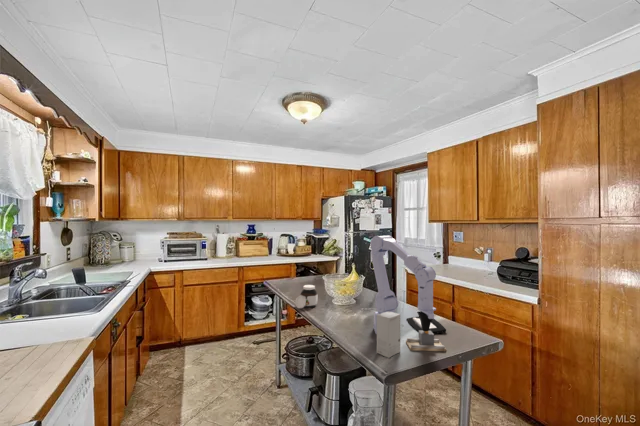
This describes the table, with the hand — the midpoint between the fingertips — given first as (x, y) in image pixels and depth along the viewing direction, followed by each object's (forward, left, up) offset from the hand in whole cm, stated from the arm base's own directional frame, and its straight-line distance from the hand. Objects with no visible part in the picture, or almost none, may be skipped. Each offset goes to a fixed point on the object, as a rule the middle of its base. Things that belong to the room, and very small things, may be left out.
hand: (425, 330), depth 118 cm
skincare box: (-16, -6, -7) cm, 18 cm away
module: (0, 0, -6) cm, 6 cm away
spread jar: (-53, +49, -7) cm, 73 cm away
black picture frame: (+7, +23, -7) cm, 25 cm away
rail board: (0, 0, -6) cm, 6 cm away
